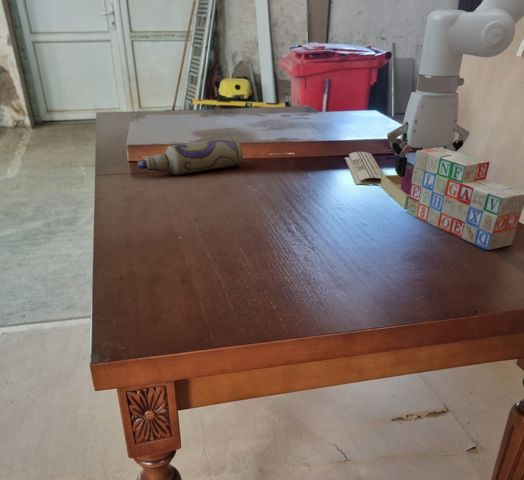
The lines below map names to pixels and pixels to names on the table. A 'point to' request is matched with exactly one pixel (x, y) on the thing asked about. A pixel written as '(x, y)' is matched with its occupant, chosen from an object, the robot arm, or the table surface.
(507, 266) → the table surface
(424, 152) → the stack of blocks
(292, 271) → the table surface
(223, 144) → the decorative bottle
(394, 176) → the tray
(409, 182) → the mulberry block
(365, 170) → the newspaper
